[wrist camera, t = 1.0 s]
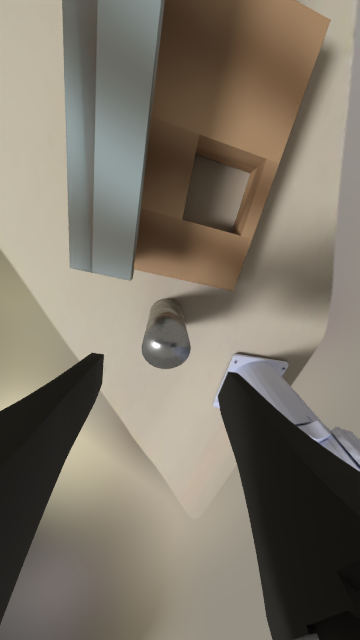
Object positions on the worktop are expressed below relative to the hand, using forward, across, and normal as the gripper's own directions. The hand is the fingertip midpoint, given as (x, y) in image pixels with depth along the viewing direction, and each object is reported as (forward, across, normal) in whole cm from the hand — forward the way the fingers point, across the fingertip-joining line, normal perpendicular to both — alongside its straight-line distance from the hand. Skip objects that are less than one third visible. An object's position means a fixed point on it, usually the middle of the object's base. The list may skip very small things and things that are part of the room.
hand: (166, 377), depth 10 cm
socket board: (+10, 0, -12) cm, 16 cm away
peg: (+10, 0, 0) cm, 10 cm away
